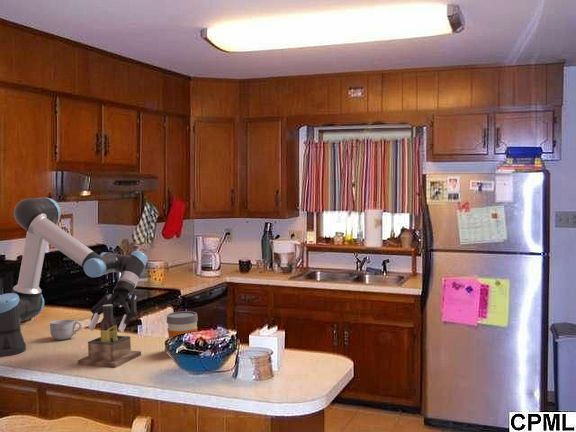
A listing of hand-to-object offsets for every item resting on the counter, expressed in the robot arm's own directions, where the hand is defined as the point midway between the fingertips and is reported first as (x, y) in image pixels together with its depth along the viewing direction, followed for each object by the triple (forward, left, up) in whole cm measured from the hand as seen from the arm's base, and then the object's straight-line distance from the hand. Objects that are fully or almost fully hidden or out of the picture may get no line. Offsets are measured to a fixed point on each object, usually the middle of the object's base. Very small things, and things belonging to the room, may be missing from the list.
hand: (105, 330), depth 240 cm
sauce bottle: (0, +2, -11) cm, 11 cm away
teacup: (-40, +26, -12) cm, 49 cm away
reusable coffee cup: (+22, +21, -12) cm, 33 cm away
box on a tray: (0, +2, -12) cm, 12 cm away
